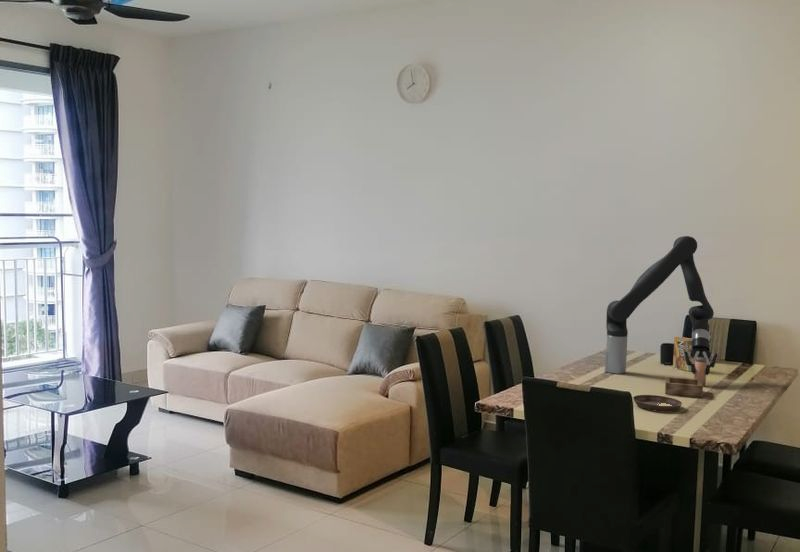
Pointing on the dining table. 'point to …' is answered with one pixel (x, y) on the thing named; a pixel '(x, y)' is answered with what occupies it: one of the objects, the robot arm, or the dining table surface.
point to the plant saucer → (656, 402)
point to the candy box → (682, 353)
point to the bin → (684, 387)
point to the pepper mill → (700, 369)
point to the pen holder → (666, 353)
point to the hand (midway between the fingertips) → (700, 373)
